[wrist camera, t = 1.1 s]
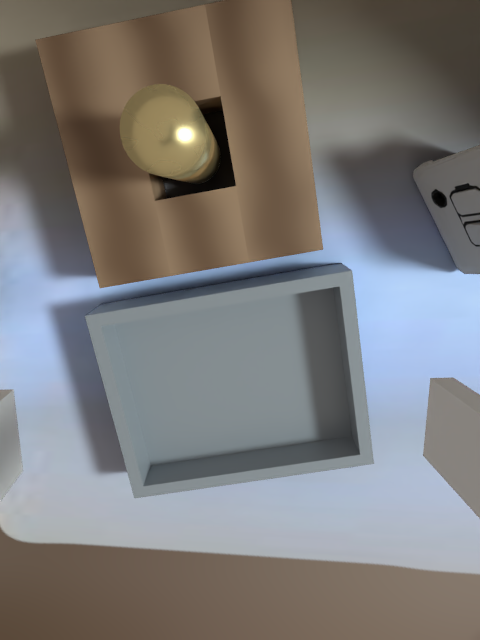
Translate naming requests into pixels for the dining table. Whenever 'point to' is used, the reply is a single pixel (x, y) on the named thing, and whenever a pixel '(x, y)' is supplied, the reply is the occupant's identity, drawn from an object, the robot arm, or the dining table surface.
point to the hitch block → (210, 96)
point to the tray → (235, 380)
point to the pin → (169, 135)
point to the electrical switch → (455, 204)
